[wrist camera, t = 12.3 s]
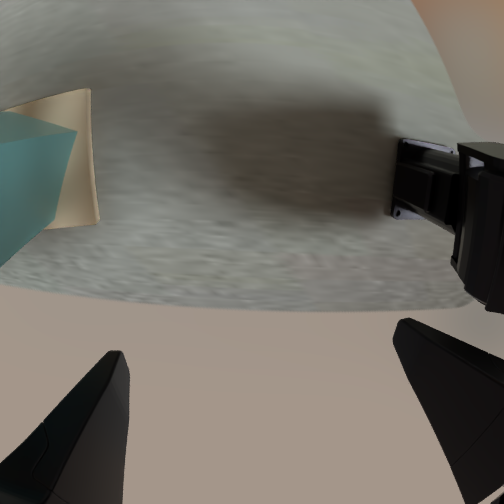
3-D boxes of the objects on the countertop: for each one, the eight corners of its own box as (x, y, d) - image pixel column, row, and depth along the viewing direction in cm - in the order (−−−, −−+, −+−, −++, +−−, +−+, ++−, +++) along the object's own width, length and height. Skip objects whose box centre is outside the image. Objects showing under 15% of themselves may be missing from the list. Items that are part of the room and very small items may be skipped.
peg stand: (91, 89, 15) (63, 82, 11) (100, 219, 19) (77, 244, 15) (-18, 120, 13) (-54, 126, 9) (-4, 231, 17) (-34, 254, 13)
